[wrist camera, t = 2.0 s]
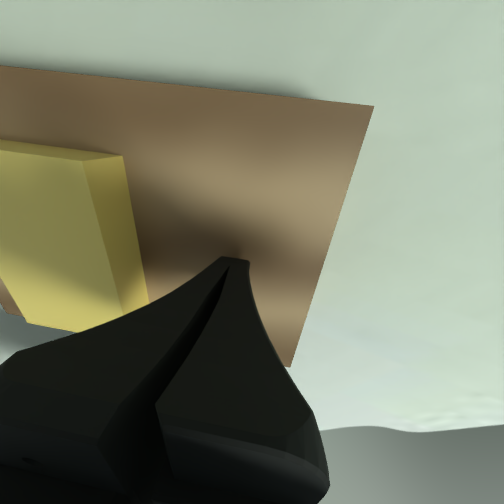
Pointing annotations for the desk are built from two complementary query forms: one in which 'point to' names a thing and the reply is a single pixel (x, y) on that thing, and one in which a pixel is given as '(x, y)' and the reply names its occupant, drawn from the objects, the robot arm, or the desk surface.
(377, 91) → the desk surface
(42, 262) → the yellow rectangular block
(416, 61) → the desk surface
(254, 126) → the brown flat block
